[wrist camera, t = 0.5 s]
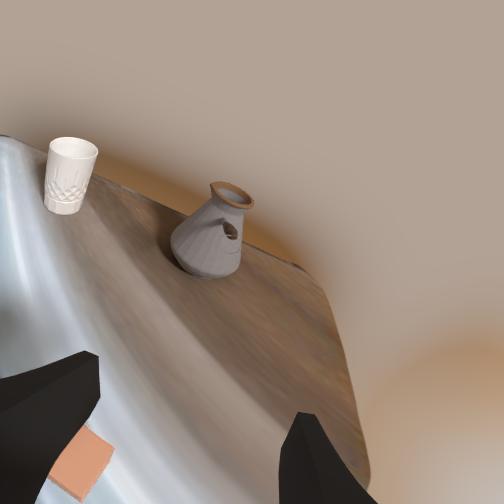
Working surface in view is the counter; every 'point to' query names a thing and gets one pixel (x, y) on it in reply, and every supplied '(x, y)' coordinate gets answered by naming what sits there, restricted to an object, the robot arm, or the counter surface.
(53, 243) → the counter surface
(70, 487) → the terracotta block
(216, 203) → the coffee pot
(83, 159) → the white cup
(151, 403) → the counter surface
